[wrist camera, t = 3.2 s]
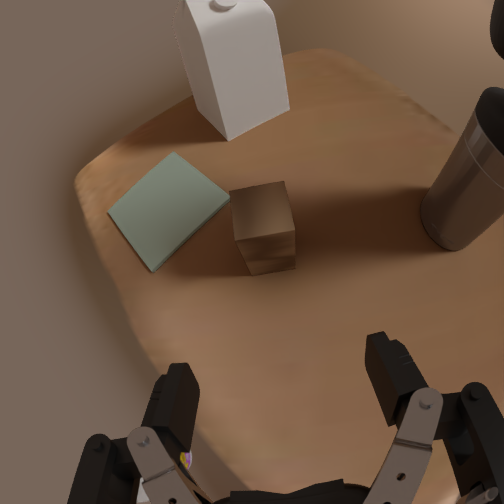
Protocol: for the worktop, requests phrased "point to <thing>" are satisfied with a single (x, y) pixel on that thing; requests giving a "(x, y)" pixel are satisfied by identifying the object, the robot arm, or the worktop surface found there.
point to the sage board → (166, 209)
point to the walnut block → (264, 227)
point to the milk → (232, 62)
